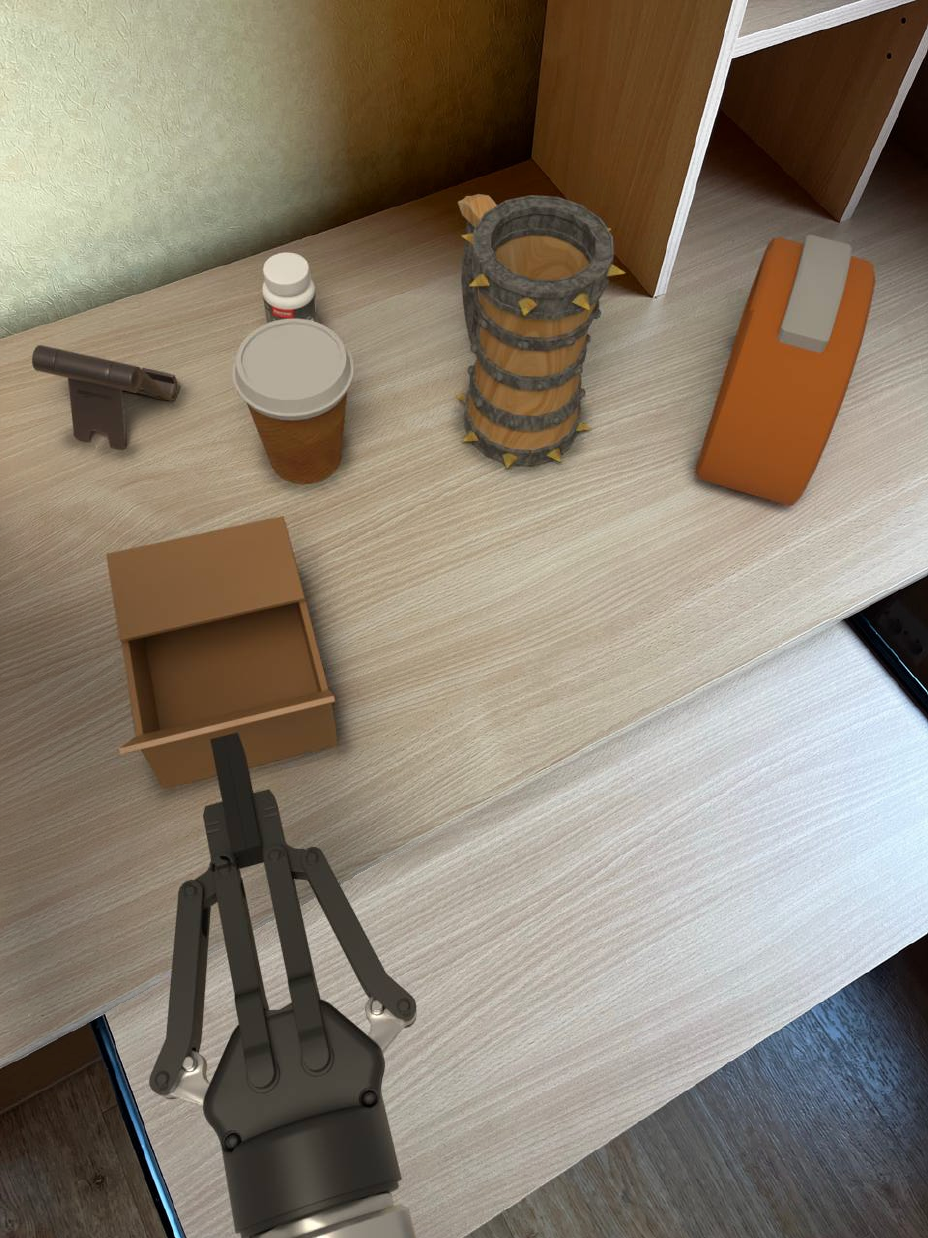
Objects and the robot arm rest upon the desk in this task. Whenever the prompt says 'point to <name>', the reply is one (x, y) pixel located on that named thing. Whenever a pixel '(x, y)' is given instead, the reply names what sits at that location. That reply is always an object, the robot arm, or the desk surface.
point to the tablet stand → (101, 389)
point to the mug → (529, 321)
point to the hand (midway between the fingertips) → (228, 746)
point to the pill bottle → (288, 289)
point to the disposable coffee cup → (296, 395)
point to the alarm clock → (788, 368)
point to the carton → (218, 645)
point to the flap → (227, 721)
